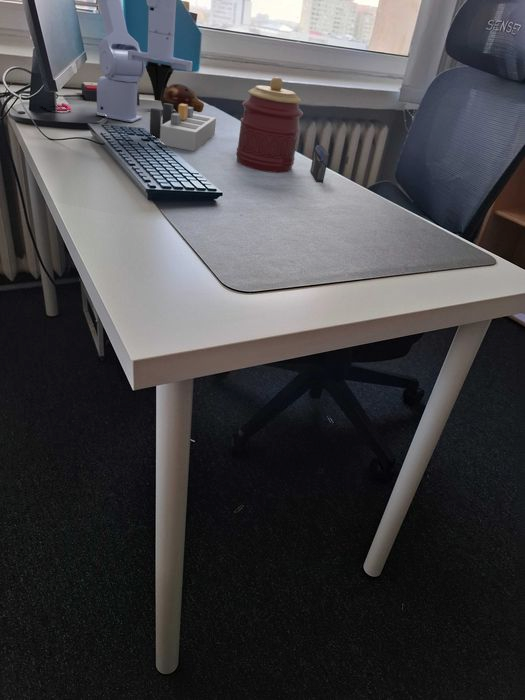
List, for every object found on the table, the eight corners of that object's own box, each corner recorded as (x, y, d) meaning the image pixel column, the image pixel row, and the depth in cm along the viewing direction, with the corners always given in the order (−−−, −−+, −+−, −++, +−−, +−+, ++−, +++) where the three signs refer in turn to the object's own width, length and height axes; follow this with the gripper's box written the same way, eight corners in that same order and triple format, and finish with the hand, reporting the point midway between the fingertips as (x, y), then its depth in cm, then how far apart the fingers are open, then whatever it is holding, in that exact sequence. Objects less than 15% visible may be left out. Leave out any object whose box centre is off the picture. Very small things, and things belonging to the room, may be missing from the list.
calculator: (80, 80, 151) (132, 83, 157) (82, 96, 153) (132, 99, 159) (85, 87, 143) (139, 90, 148) (86, 104, 145) (139, 106, 151)
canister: (225, 155, 116) (235, 68, 106) (275, 157, 122) (288, 75, 112) (251, 173, 107) (264, 79, 97) (303, 174, 113) (320, 86, 103)
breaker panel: (159, 144, 115) (161, 115, 112) (184, 128, 133) (186, 103, 130) (194, 151, 115) (196, 122, 112) (214, 134, 133) (217, 109, 130)
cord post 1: (148, 137, 119) (149, 109, 116) (151, 135, 121) (152, 107, 118) (158, 139, 119) (159, 111, 116) (161, 137, 121) (162, 109, 118)
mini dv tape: (310, 172, 116) (315, 144, 113) (316, 173, 116) (322, 145, 113) (316, 182, 109) (322, 153, 106) (322, 183, 109) (329, 154, 106)
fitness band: (75, 115, 128) (75, 108, 127) (52, 114, 124) (51, 107, 123) (61, 107, 133) (61, 101, 132) (39, 107, 129) (38, 100, 128)
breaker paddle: (177, 118, 121) (178, 104, 119) (180, 116, 123) (181, 103, 121) (183, 119, 121) (184, 106, 119) (187, 118, 123) (187, 104, 121)
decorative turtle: (153, 106, 153) (157, 77, 149) (203, 118, 155) (208, 90, 151) (147, 109, 145) (150, 78, 141) (199, 122, 146) (204, 92, 142)
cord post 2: (160, 130, 127) (162, 103, 124) (163, 128, 129) (164, 102, 126) (170, 131, 127) (171, 105, 124) (172, 130, 129) (174, 104, 126)
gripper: (122, 27, 110) (122, 96, 117) (188, 39, 109) (184, 108, 117) (134, 27, 116) (133, 93, 123) (196, 39, 115) (191, 104, 123)
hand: (158, 100), depth 120 cm, fingers closed
